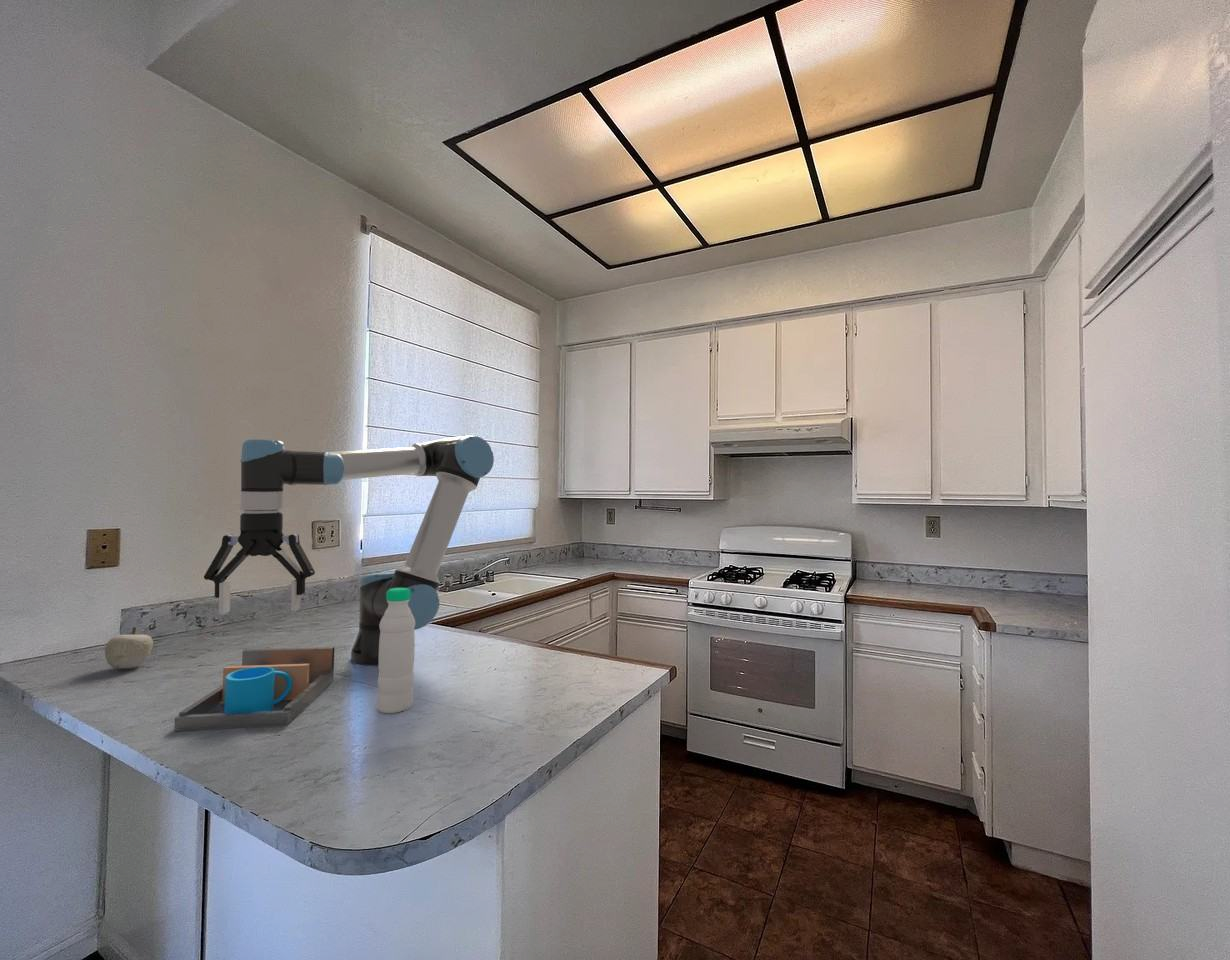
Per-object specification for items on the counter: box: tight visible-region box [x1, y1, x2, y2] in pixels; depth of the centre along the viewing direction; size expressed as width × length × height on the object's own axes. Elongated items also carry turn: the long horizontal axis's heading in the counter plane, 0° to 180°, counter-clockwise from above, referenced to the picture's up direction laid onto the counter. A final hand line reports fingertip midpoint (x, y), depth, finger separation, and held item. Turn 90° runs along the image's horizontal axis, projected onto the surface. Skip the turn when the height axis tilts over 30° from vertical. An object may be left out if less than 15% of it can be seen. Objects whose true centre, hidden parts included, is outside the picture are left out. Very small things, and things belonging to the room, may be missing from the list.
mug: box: [223, 667, 293, 713], centre depth 107 cm, size 12×8×8 cm
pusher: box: [221, 664, 310, 704], centre depth 114 cm, size 16×4×7 cm, turn 100°
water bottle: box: [376, 588, 416, 715], centre depth 110 cm, size 7×7×25 cm
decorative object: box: [104, 626, 154, 670], centre depth 131 cm, size 9×9×10 cm
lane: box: [173, 646, 335, 732], centre depth 111 cm, size 19×24×8 cm
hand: (260, 611), depth 111 cm, fingers open, 13 cm apart
